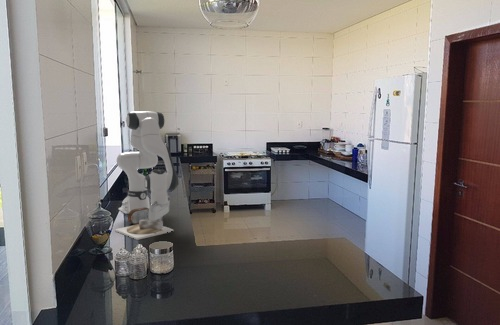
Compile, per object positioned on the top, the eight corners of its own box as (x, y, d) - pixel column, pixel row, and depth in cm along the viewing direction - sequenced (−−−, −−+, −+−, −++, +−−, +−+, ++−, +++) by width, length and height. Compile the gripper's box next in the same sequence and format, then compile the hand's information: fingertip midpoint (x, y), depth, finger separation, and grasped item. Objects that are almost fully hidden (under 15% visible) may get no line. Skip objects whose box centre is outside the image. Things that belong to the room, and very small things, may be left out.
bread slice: (149, 219, 233) (149, 206, 232) (152, 220, 231) (152, 206, 231) (127, 224, 222) (127, 210, 221) (130, 225, 220) (130, 211, 219)
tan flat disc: (120, 233, 201) (120, 224, 201) (135, 224, 219) (134, 215, 219) (156, 234, 199) (156, 225, 199) (167, 225, 217) (167, 217, 216)
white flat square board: (114, 231, 209) (114, 228, 209) (150, 223, 225) (150, 221, 225) (137, 240, 194) (136, 237, 194) (173, 231, 210) (173, 229, 210)
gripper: (157, 204, 198) (157, 230, 200) (171, 196, 218) (171, 220, 220) (145, 203, 199) (145, 229, 201) (160, 195, 219) (160, 219, 221)
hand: (159, 224), depth 210 cm, fingers closed
